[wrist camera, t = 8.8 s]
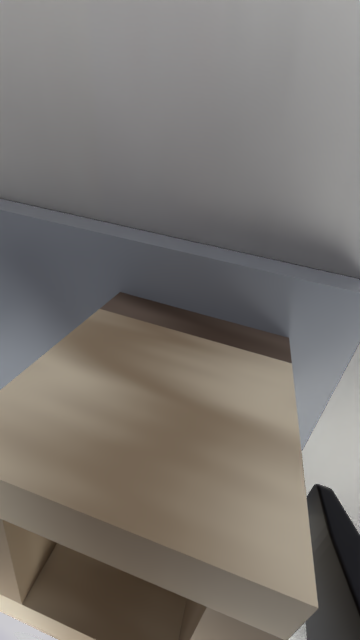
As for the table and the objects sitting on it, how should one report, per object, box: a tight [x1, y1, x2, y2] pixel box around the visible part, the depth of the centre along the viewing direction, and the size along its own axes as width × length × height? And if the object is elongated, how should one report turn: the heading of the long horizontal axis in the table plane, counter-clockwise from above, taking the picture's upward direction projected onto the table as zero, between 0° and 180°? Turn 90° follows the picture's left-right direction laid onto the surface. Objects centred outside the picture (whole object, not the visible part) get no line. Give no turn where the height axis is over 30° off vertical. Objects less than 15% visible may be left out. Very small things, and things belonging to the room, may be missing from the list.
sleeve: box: [0, 292, 318, 640], centre depth 9 cm, size 6×6×7 cm
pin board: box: [0, 199, 360, 452], centre depth 11 cm, size 20×10×6 cm, turn 81°
